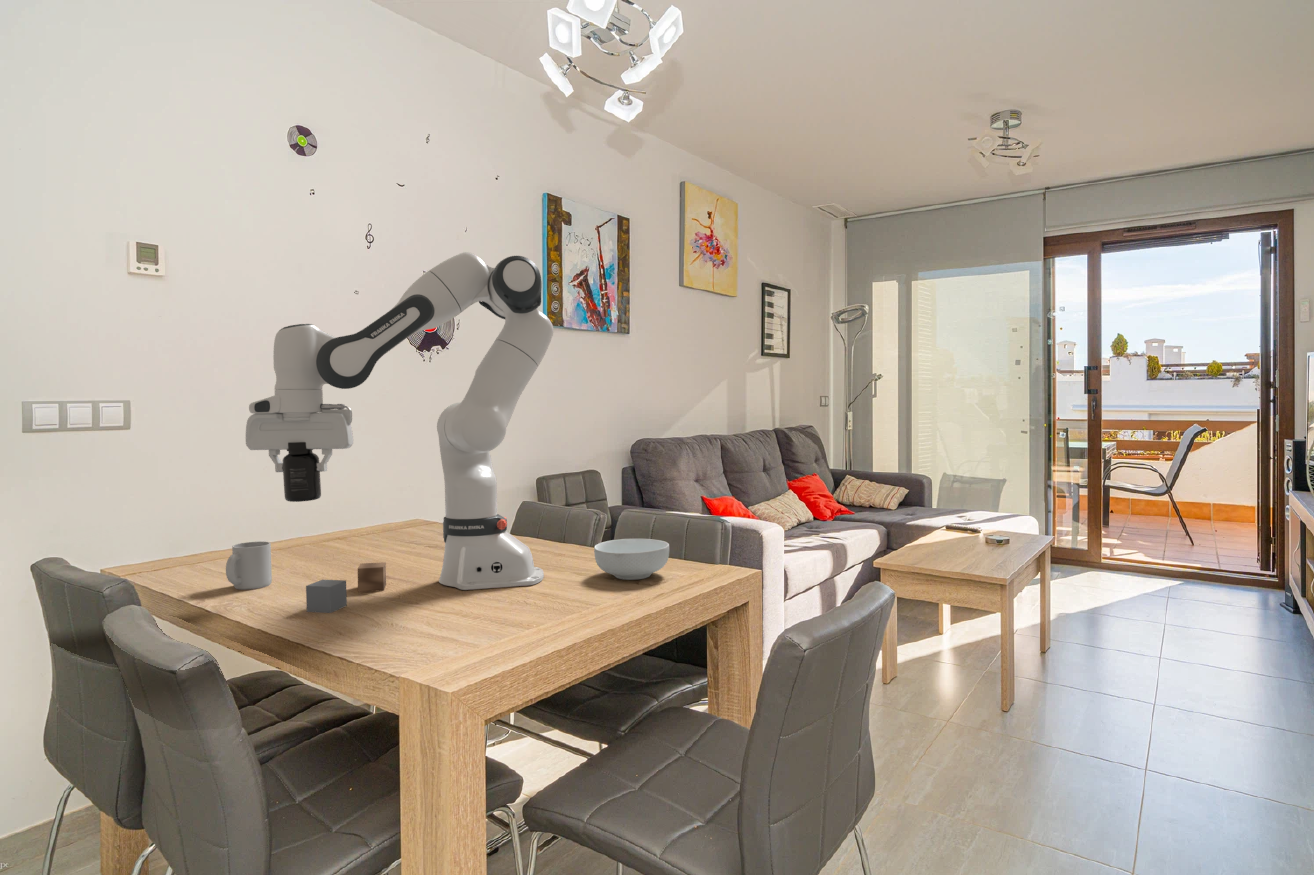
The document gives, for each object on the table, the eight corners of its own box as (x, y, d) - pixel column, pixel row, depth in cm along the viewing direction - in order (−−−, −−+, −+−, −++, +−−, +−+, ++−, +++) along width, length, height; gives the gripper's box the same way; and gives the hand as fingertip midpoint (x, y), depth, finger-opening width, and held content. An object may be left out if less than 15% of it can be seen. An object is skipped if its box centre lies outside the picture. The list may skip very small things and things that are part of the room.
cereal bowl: (626, 564, 177) (625, 535, 176) (684, 573, 167) (683, 542, 167) (578, 578, 163) (578, 546, 163) (638, 589, 153) (638, 555, 153)
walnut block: (386, 585, 158) (385, 562, 158) (383, 590, 154) (383, 567, 153) (361, 586, 157) (360, 563, 157) (358, 592, 152) (357, 568, 152)
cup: (279, 582, 161) (278, 542, 160) (241, 594, 151) (240, 551, 151) (253, 580, 163) (251, 540, 162) (214, 592, 153) (212, 549, 153)
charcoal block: (346, 606, 142) (346, 580, 142) (330, 613, 137) (330, 586, 137) (323, 605, 143) (322, 579, 143) (306, 612, 138) (306, 585, 138)
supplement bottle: (328, 497, 154) (325, 440, 153) (303, 503, 147) (300, 443, 146) (302, 495, 156) (299, 439, 155) (276, 501, 150) (273, 442, 148)
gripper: (356, 403, 154) (358, 469, 155) (255, 404, 153) (257, 471, 153) (346, 403, 148) (348, 472, 149) (240, 404, 146) (242, 474, 147)
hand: (301, 471), depth 151 cm, fingers closed on supplement bottle, 7 cm apart
